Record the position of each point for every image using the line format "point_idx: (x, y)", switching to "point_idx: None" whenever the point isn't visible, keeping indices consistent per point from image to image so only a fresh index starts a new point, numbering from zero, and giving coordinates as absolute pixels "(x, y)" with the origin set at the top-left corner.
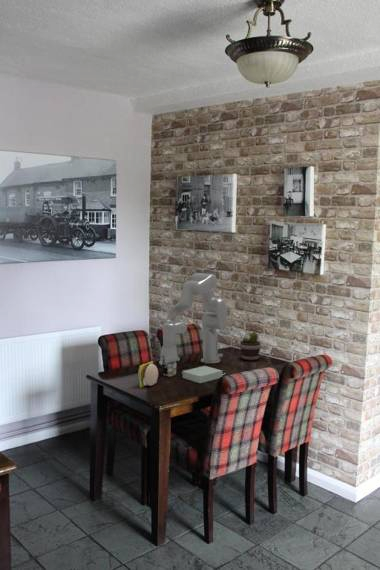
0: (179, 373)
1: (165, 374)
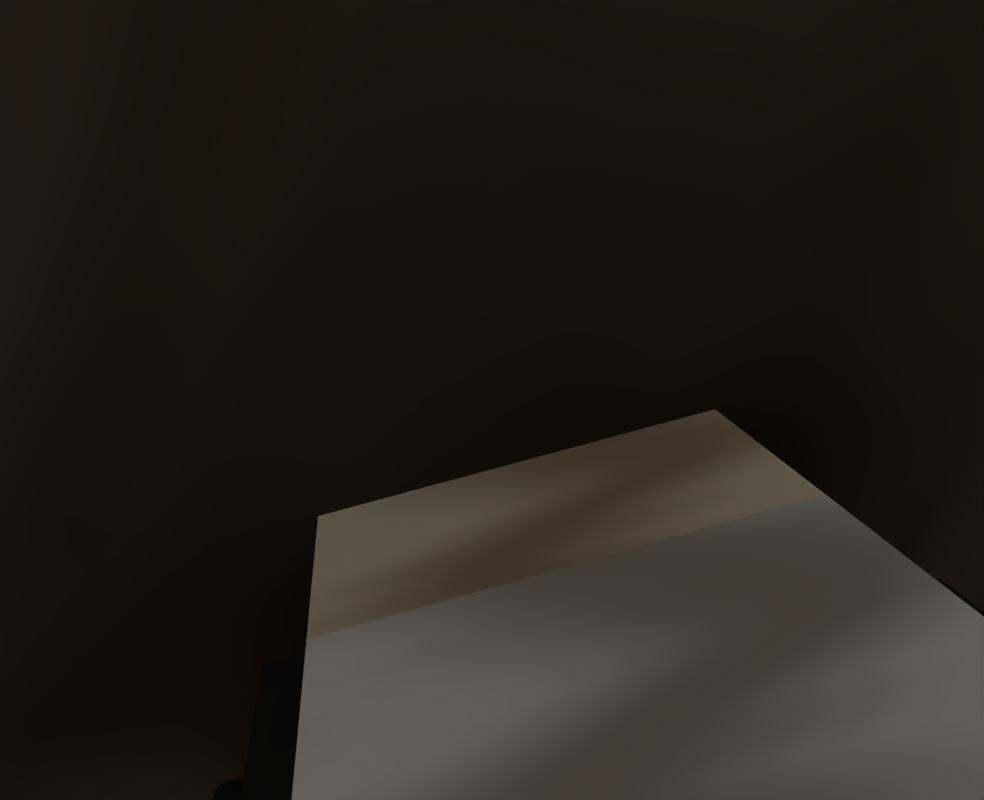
0: None
1: None
